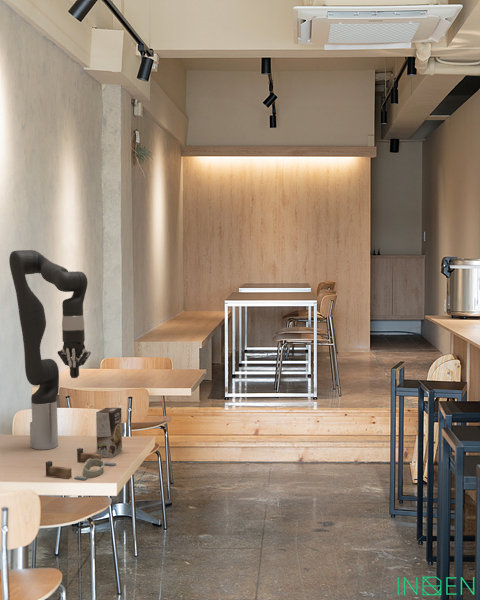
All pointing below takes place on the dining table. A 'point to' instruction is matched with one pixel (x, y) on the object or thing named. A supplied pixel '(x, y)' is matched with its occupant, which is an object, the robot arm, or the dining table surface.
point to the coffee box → (109, 432)
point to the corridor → (66, 472)
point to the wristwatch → (92, 463)
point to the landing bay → (87, 477)
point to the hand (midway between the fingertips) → (74, 377)
